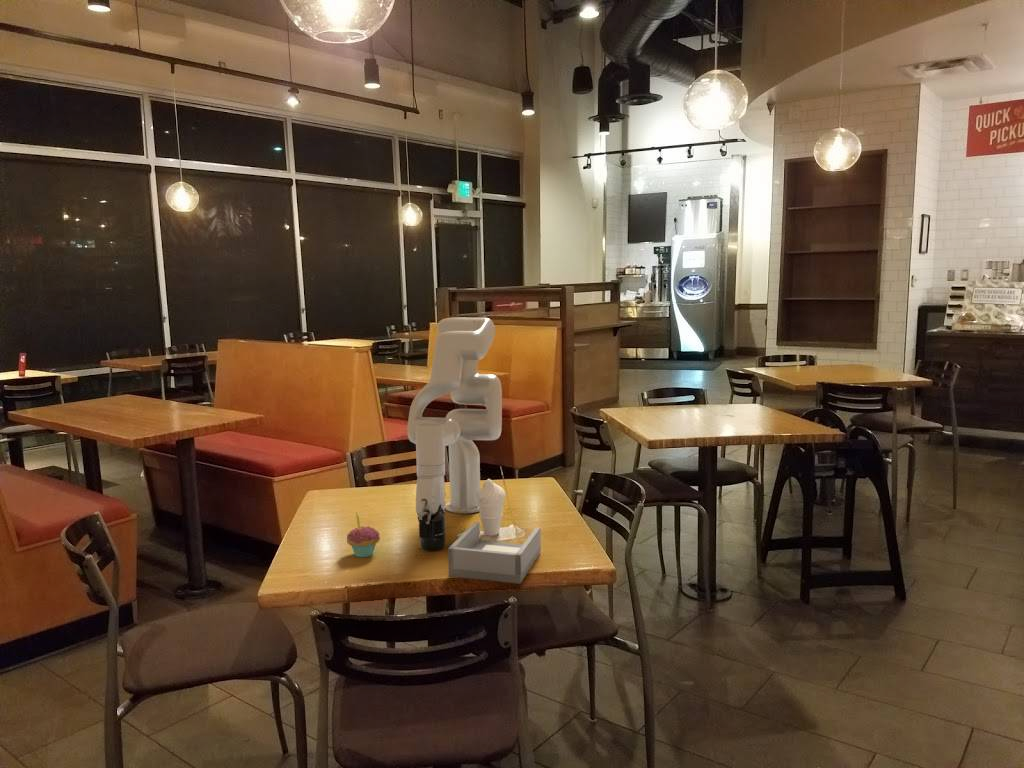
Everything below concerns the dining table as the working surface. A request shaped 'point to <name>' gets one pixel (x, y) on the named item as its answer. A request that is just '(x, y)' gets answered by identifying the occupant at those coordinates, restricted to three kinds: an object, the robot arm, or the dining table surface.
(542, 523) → the dining table surface
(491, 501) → the soft serve ice cream cone
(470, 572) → the dock
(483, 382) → the robot arm
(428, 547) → the supplement bottle
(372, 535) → the cupcake
